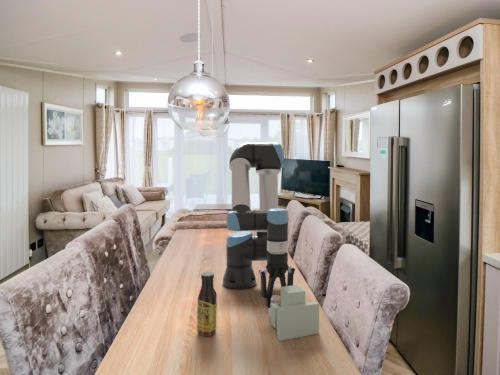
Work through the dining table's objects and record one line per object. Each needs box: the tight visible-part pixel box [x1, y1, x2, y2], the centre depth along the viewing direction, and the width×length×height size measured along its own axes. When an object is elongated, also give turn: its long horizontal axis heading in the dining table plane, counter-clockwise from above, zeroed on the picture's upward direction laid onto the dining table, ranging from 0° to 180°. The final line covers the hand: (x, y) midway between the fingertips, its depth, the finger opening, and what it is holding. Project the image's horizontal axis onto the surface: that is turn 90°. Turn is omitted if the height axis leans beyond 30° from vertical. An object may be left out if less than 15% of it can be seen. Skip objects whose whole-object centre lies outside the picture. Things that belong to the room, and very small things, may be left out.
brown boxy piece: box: [271, 294, 281, 307], centre depth 126 cm, size 12×4×6 cm, turn 20°
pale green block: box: [269, 284, 320, 342], centre depth 118 cm, size 12×14×14 cm
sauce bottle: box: [196, 271, 218, 337], centre depth 115 cm, size 7×6×20 cm
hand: (276, 314), depth 129 cm, fingers open, 4 cm apart
